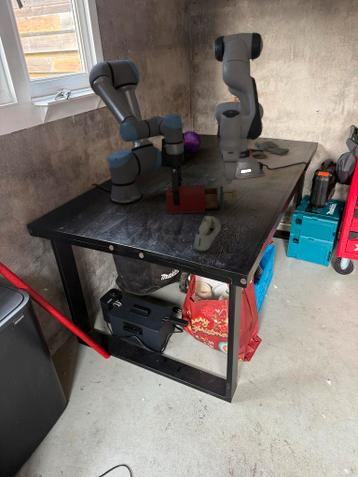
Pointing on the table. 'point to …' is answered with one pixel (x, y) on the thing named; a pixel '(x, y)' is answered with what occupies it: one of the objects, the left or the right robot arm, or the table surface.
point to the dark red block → (187, 199)
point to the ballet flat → (206, 233)
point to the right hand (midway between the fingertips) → (229, 182)
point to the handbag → (163, 152)
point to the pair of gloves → (267, 149)
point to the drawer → (212, 197)
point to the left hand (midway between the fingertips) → (178, 199)
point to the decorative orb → (192, 141)
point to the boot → (218, 138)
